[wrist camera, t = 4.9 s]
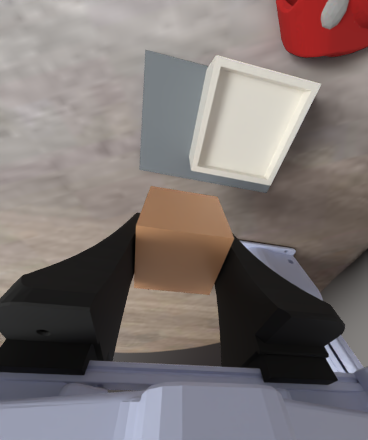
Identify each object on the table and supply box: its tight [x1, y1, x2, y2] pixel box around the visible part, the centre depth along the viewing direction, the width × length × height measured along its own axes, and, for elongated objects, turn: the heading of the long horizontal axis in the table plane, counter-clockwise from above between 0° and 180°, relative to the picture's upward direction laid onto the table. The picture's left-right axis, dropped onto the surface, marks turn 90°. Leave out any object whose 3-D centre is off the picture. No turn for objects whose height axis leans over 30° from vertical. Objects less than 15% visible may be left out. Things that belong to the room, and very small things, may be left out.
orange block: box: [134, 186, 234, 295], centre depth 11 cm, size 5×5×4 cm
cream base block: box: [189, 55, 321, 186], centre depth 13 cm, size 7×7×4 cm
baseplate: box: [140, 50, 270, 193], centre depth 16 cm, size 14×9×1 cm, turn 79°
